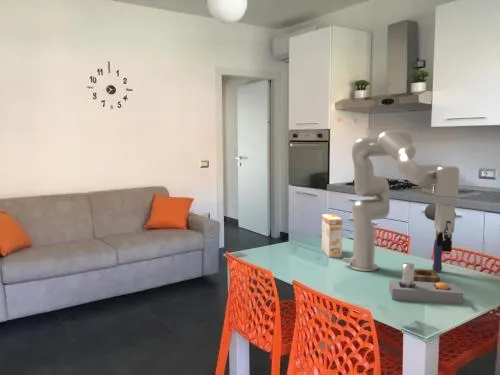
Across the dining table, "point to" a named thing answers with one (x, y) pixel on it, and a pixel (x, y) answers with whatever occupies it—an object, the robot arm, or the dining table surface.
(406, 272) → the silver metal cylinder
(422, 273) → the brown open square box
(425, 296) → the socket block
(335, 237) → the coffeecake box
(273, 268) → the dining table surface
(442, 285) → the release button
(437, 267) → the rubber mallet
